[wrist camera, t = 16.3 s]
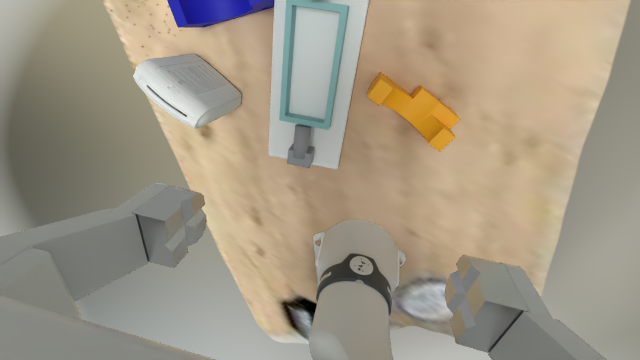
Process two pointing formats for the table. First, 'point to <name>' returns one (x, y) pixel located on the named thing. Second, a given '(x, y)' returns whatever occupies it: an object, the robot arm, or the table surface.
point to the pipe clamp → (416, 110)
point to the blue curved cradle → (213, 10)
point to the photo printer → (187, 88)
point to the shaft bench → (313, 78)
